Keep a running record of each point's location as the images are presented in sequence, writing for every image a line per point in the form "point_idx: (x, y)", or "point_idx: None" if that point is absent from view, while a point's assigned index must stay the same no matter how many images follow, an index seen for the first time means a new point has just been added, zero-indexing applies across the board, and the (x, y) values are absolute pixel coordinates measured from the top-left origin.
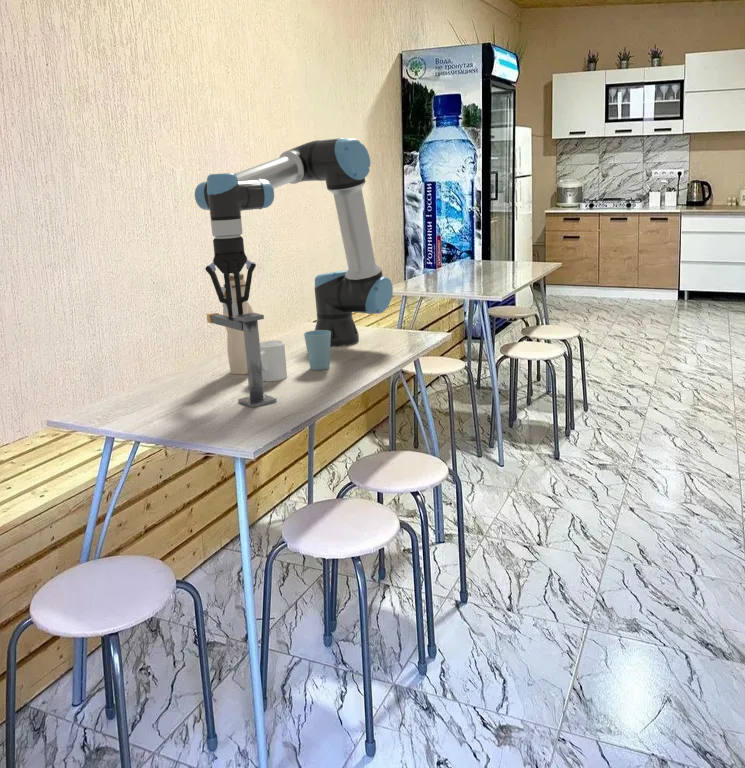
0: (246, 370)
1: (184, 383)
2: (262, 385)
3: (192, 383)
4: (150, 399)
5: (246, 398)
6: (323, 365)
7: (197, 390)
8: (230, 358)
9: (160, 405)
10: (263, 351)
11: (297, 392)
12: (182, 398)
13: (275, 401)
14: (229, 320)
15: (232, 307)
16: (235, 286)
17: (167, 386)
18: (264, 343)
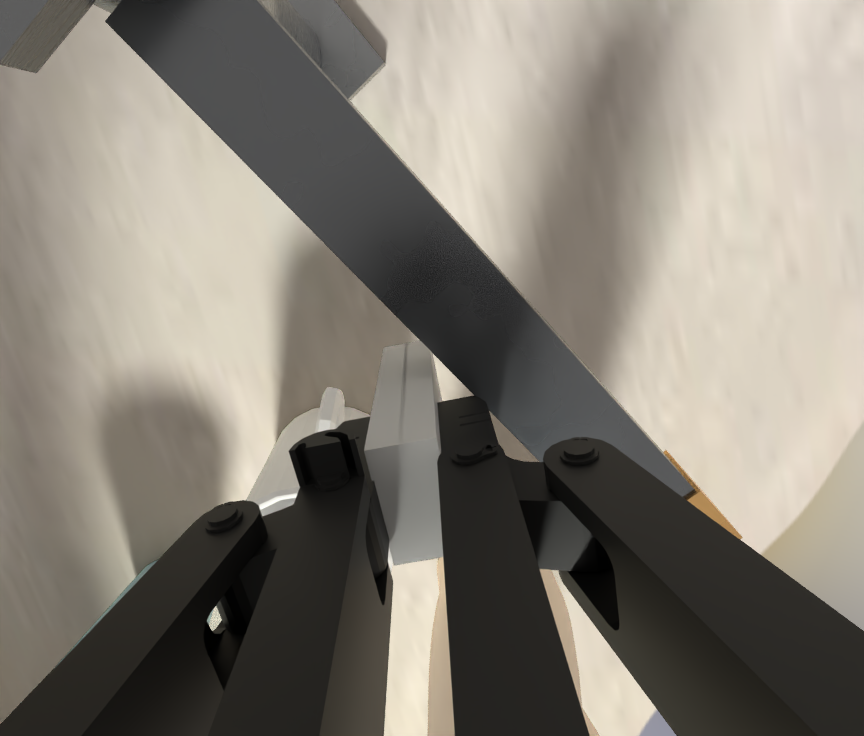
0: None
1: (714, 408)
2: None
3: (678, 405)
4: (836, 154)
5: (344, 69)
6: (142, 572)
7: (634, 292)
8: (544, 569)
9: (772, 36)
10: None
11: (144, 219)
12: (681, 158)
13: None
14: (417, 179)
15: (427, 422)
16: (327, 658)
17: (784, 367)
18: None
